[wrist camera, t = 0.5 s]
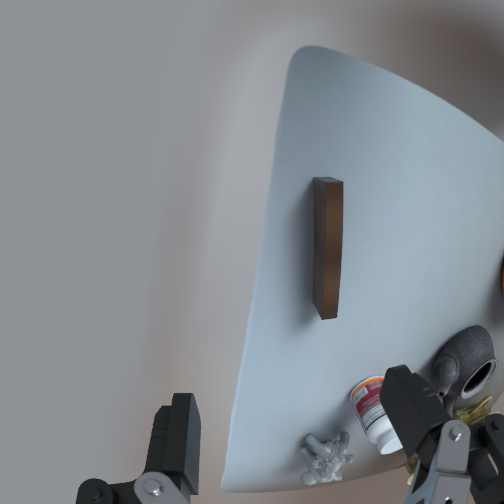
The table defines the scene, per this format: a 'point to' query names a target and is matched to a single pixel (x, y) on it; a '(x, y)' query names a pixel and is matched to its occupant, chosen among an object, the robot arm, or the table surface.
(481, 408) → the ceramic bowl
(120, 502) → the robot arm
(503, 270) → the bowl
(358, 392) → the pill bottle
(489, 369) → the teapot
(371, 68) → the table surface
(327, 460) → the gray elephant figurine
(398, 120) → the table surface
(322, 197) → the stick
